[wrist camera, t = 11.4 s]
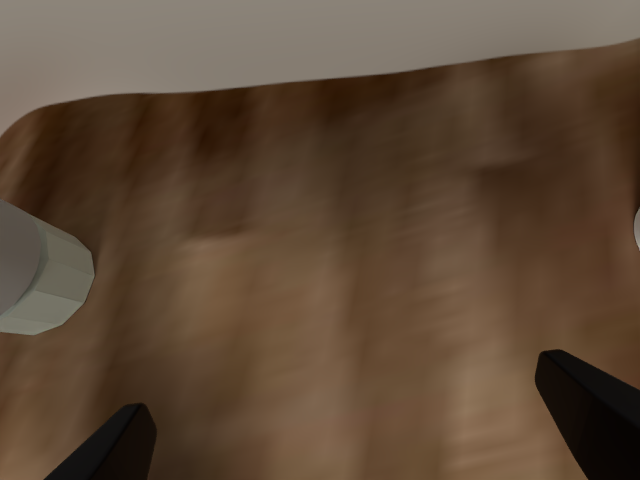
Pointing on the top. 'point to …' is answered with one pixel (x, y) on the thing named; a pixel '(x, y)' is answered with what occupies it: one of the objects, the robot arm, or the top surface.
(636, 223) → the cylindrical container
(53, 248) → the bowl
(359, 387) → the top surface
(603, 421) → the robot arm
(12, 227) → the can
